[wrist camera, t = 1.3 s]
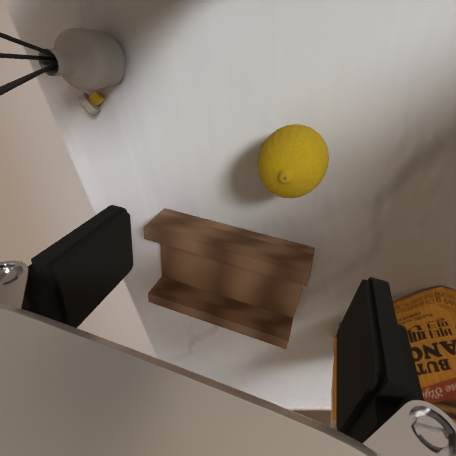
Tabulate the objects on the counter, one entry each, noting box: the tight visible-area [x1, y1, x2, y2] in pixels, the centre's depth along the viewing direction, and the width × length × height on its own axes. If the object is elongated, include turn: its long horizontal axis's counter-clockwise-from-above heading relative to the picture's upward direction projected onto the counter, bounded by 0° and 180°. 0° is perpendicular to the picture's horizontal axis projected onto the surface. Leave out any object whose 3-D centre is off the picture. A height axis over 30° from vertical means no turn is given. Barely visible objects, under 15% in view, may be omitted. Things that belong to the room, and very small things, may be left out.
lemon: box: [258, 124, 329, 198], centre depth 24 cm, size 6×6×8 cm
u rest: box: [144, 209, 314, 349], centre depth 35 cm, size 18×12×5 cm, turn 84°
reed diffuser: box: [0, 29, 126, 115], centre depth 21 cm, size 10×7×20 cm
